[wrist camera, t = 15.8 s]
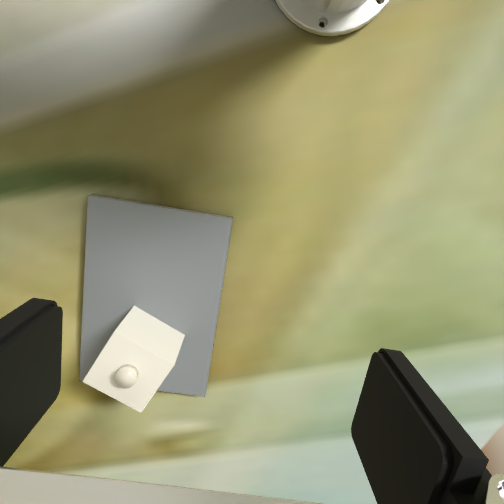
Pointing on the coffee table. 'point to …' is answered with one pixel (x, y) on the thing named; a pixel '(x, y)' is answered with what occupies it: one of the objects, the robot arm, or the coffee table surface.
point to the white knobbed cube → (135, 359)
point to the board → (154, 280)
